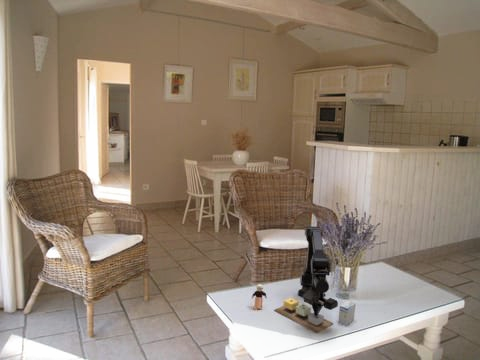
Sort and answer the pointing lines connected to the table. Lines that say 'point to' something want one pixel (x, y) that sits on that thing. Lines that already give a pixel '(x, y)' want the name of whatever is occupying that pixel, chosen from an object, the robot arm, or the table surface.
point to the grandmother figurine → (258, 297)
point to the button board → (302, 319)
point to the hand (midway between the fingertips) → (316, 315)
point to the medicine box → (346, 313)
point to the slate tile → (315, 319)
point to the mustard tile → (291, 303)
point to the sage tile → (303, 309)
